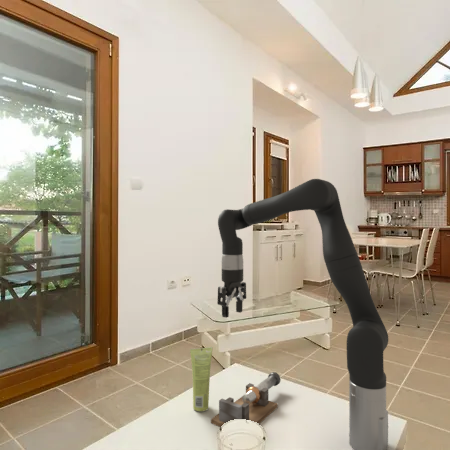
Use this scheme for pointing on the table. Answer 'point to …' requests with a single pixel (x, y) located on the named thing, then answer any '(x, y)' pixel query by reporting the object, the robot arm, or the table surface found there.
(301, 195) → the robot arm
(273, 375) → the shaft
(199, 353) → the tube
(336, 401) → the table surface
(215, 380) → the table surface
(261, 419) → the bearing board
